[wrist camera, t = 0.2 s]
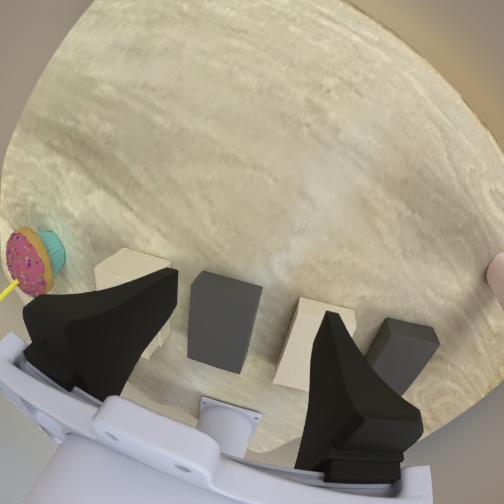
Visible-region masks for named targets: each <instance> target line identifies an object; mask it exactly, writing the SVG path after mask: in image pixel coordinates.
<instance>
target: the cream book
mask: <svg viewBox="0 0 504 504" xmlns="http://www.w3.org/2000/svg"><path fill="white" fill-rule="evenodd" d="M326 310H327V311H331V312H336V313H339V315H340V317H341V319H342V320H343V322H344V324H345V326H346V328H347V330H348V332H349V334H350V336H351V337H352V336H353V334H354V332H355V330H356V328H357V327H356V320H355V313H354V310H352V309H347V308H343V307H339V306H335V305H331V304H327V303H323V302H319V301H315V300H311V299H307V298H303V297H300V298H299V301H298V304H297V307H296V310H295V313H294V316H293V319H292V322H291V325H290V328H289V331H288V333H287V336H286V339H285V342H284V345H283V348H282V351H281V353H280V356H279V359H278V362H277V364H276V368H275V372H274V377H273V381H272V383H274V384H278V385H282V386H287V387H291V388H296V389H300V390H305V391H309V382H310V359H311V352H312V346H313V341H314V339H315V337H316V334H317V332H318V329H319V327H320V324H321V322H322V320H323V317H324V315H325V312H326Z"/></svg>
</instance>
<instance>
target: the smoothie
mask: <svg viewBox="0 0 504 504" xmlns="http://www.w3.org/2000/svg"><path fill="white" fill-rule="evenodd" d="M486 279H487V283H488V285H489V286H490V288H491V289H492V291H493V293H494V295H495V296H496V298H497V300H498V301H499V303H500V305H501V307H502V309H503V310H504V252H502V253H499V254H498V255H496V256H495V257H494V258H493V260H492V261H491V263H490V264H489V267H488V269H487V274H486Z"/></svg>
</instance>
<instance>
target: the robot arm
mask: <svg viewBox="0 0 504 504" xmlns="http://www.w3.org/2000/svg"><path fill="white" fill-rule="evenodd" d="M177 291H178V270H176V269H172V268H169V267H166V268H163V269H160V270H158V271H155V272H152V273H150V274H148V275H145V276H142V277H140V278H137V279H135V280H132V281H129V282H126V283H123V284H120V285H117V286H114V287H111V288H107V289H103V290H98V291H92V292H86V293H79V294H66V295H50V294H40V295H39V296H37V297H36V298H35V299H33V300H32V301H31V302H30V303H28V304H27V305H26V306H25V307H24V308H23V319H24V322H25V325H26V328H27V330H28V333H29V335H30V338H31V340H32V343H31V344H30V345H29V346H28V345H27V344H26V342H25V341H24V340H23V339H22V338H21V337H19V336H18V335H17V334H16V333H14V332H13V331H11V332H10V333H9V334H8V335H6V336H5V337H4V338H3V339H2V340H1V341H0V391H1V392H2V393H3V394H4V395H5V396H6V397H7V398H8V400H9V401H11V403H12V404H14V406H15V407H17V408H18V409H19V410H20V411H21V412H22V413H23V414H24V415H25V416H26V417H27V418H28V419H29V420H30V421H31V422H32V423H33V424H34V425H35V426H37V427H38V428H39V429H40V430H41V431H42V432H43V433H45V434H46V435H47V436H48V437H49V438H50V439H52V440H53V441H54V442H55V443H57V444H58V445H59V446H60V447H59V448H58V450H57V451H56V453H55V454H54V456H53V457H52V458H51V460H50V461H49V463H48V464H47V465H46V467H45V469H44V470H43V471H42V473H41V474H40V476H39V477H38V479H37V480H36V482H35V483H34V485H33V486H32V488H31V489H30V491H29V492H28V494H27V495H26V497H25V498H24V500H23V501H22V503H21V504H433V497H432V496H433V495H432V483H431V474H430V466H429V465H424V466H410V467H405V468H402V469H400V462H402V461H403V460H404V456H403V452H405V451H406V450H407V449H408V448H409V447H411V446H412V445H413V444H414V443H416V442H417V440H418V439H419V438H420V437H421V436H422V434H423V432H424V430H423V423H422V417H421V413H420V410H419V409H417V408H416V407H415V406H413V405H412V404H410V403H409V402H407V401H406V400H405V399H403V398H402V397H401V396H400V395H398V394H397V393H396V392H395V391H394V390H393V389H392V388H390V387H389V386H388V385H387V384H386V383H385V382H384V381H383V380H382V379H381V378H380V376H379V375H378V374H377V373H376V372H375V371H374V370H373V368H372V367H371V366H370V365H369V363H368V362H367V361H366V359H365V358H364V356H363V355H362V353H361V352H360V350H359V349H358V347H357V346H356V344H355V342H354V341H353V339H352V337H351V336H350V334H349V332H348V330H347V328H346V326H345V324H344V322H343V320H342V319H341V317H340V315H339V313H336V312H331V311H327V310H326V312H325V315H324V317H323V320H322V322H321V324H320V327H319V329H318V332H317V334H316V337H315V339H314V341H313V346H312V352H311V359H310V382H309V402H308V410H307V415H306V421H305V426H304V431H303V435H302V440H301V444H300V448H299V452H298V456H297V460H296V463H295V467H294V469H292V468H286V467H280V466H275V465H270V464H265V463H260V462H256V461H252V460H247V459H244V457H245V453H246V449H247V446H248V443H249V442H250V440H251V438H252V436H253V433H254V431H255V429H256V427H257V424H258V422H259V420H260V417H261V414H260V413H258V412H254V411H250V410H247V409H243V408H239V407H236V406H232V405H229V404H226V403H222V402H219V401H216V400H213V399H210V398H207V397H202V398H201V402H200V414H199V421H198V424H197V426H196V428H195V427H193V426H191V425H188V424H185V423H182V422H180V421H177V420H175V419H172V418H170V417H167V416H164V415H162V414H160V413H157V412H155V411H153V410H151V409H148V408H146V407H144V406H142V405H139V404H137V403H135V402H133V401H131V400H129V399H126V398H123V397H120V394H121V392H122V390H123V388H124V386H125V383H126V382H127V380H128V378H129V376H130V374H131V372H132V370H133V368H134V367H135V365H136V363H137V362H138V360H139V358H140V356H141V355H142V353H143V352H144V351H145V349H146V348H147V346H148V345H149V344H150V343H151V341H152V340H153V339H154V337H155V336H156V335H157V334H158V332H159V331H160V330H161V329H162V327H163V326H164V325H165V323H166V322H167V321H168V319H169V318H170V316H171V314H172V312H173V311H174V309H175V307H176V305H177Z"/></svg>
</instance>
